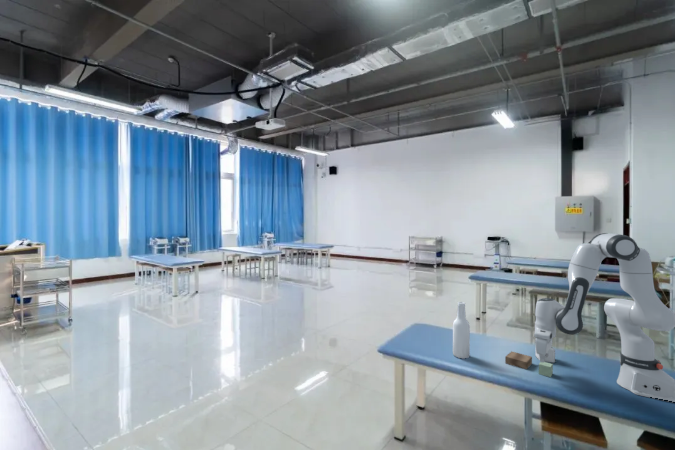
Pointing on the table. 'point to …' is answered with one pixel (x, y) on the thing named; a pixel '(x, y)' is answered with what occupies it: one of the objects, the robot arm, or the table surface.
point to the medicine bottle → (550, 358)
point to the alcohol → (461, 333)
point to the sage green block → (546, 369)
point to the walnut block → (518, 360)
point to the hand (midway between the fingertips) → (544, 359)
